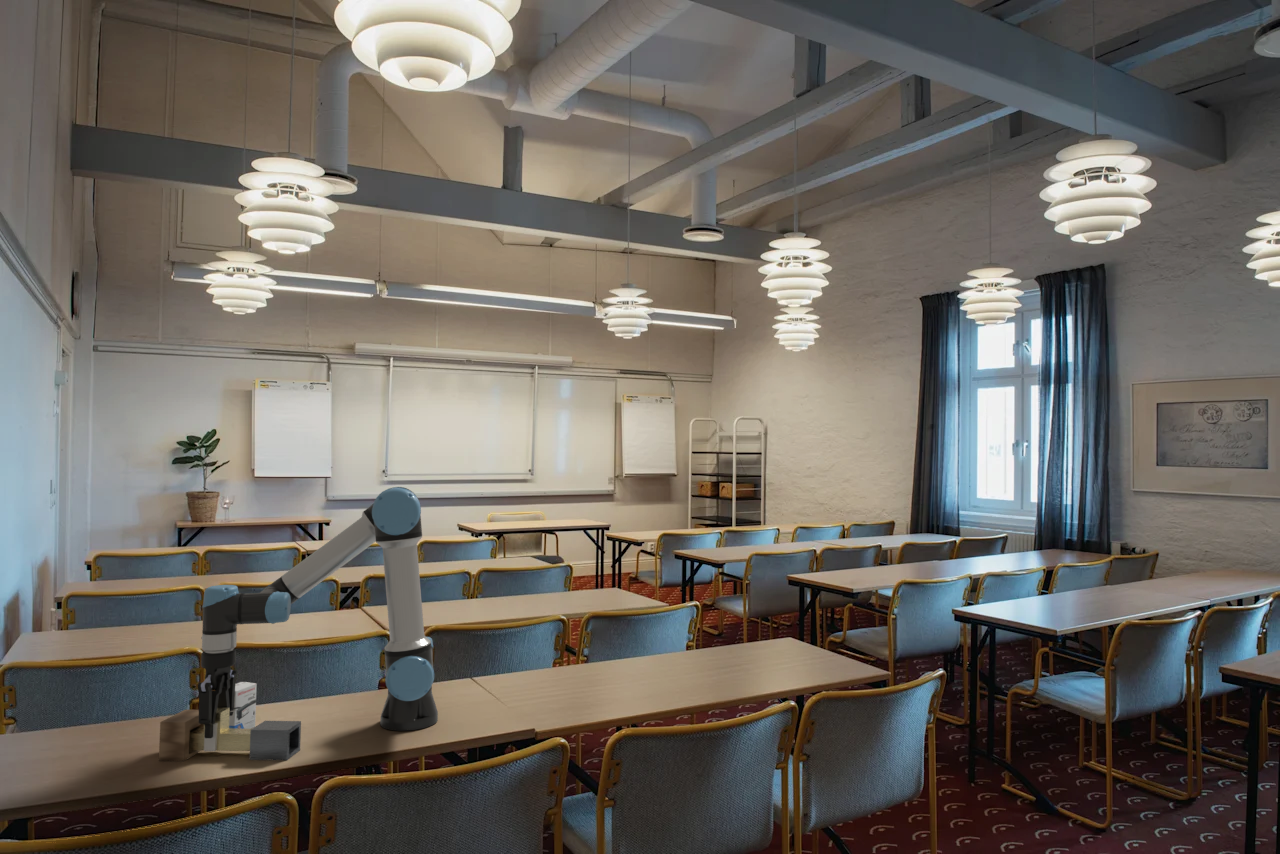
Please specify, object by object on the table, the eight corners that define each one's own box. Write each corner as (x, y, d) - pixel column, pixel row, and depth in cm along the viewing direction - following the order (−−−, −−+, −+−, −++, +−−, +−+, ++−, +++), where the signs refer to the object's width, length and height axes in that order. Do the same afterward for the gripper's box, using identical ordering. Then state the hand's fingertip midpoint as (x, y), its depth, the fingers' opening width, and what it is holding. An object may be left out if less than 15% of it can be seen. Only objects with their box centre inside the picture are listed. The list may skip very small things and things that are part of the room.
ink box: (234, 737, 205) (235, 690, 206) (217, 735, 206) (218, 689, 207) (256, 726, 214) (257, 682, 214) (240, 725, 215) (241, 681, 215)
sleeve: (300, 750, 196) (301, 721, 196) (286, 760, 189) (287, 730, 189) (264, 749, 196) (265, 720, 197) (249, 759, 189) (250, 729, 190)
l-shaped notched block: (262, 745, 195) (263, 708, 195) (254, 751, 191) (255, 713, 191) (194, 744, 195) (195, 707, 196) (184, 750, 191) (185, 712, 192)
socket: (207, 746, 198) (209, 709, 199) (183, 761, 188) (185, 722, 189) (184, 746, 198) (185, 709, 199) (158, 760, 188) (160, 722, 189)
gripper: (222, 642, 203) (219, 735, 202) (182, 657, 186) (179, 759, 185) (251, 642, 203) (249, 735, 202) (214, 658, 186) (211, 760, 185)
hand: (215, 747), depth 193 cm, fingers closed on l-shaped notched block, 4 cm apart
